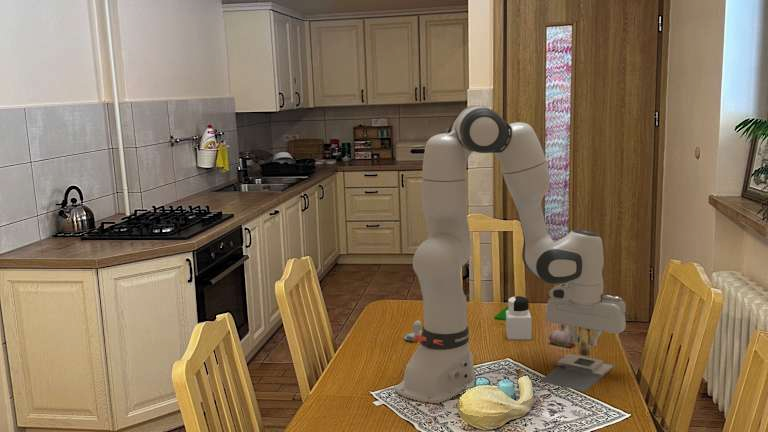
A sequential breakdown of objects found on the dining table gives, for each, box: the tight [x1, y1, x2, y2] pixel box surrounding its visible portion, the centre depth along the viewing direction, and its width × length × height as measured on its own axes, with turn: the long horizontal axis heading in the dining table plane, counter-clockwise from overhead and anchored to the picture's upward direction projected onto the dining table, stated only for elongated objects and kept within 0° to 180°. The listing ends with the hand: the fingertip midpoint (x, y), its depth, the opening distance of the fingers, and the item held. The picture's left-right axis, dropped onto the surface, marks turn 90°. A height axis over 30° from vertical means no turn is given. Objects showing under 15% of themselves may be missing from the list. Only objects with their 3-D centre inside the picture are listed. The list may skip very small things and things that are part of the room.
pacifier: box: [403, 319, 422, 342], centre depth 218 cm, size 7×6×6 cm
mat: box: [539, 362, 616, 393], centre depth 183 cm, size 20×12×2 cm, turn 142°
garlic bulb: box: [548, 324, 574, 349], centre depth 208 cm, size 8×7×8 cm
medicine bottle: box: [505, 295, 533, 341], centre depth 216 cm, size 7×7×12 cm
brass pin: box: [578, 327, 592, 357], centre depth 185 cm, size 3×3×8 cm
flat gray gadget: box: [556, 353, 613, 378], centre depth 186 cm, size 7×12×2 cm, turn 52°
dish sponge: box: [493, 305, 508, 326], centre depth 234 cm, size 7×14×2 cm, turn 152°
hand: (584, 343), depth 185 cm, fingers closed on brass pin, 3 cm apart
